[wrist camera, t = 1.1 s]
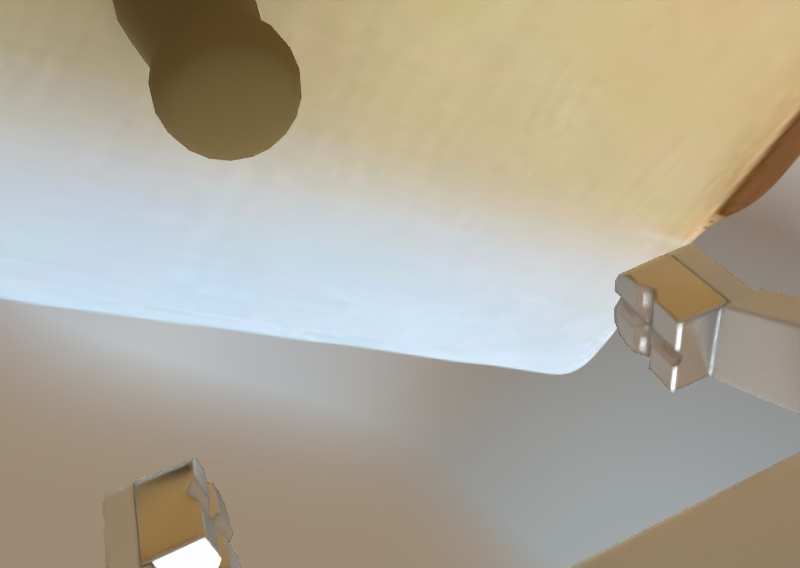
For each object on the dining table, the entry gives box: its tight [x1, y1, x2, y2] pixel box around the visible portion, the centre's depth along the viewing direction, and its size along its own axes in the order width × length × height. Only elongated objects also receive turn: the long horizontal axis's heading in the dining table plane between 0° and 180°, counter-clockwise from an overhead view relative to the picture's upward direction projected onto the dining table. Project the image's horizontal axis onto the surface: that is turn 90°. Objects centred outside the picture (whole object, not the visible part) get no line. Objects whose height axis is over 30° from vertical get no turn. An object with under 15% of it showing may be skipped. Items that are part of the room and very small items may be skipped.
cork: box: [113, 0, 301, 161], centre depth 27 cm, size 6×6×11 cm
